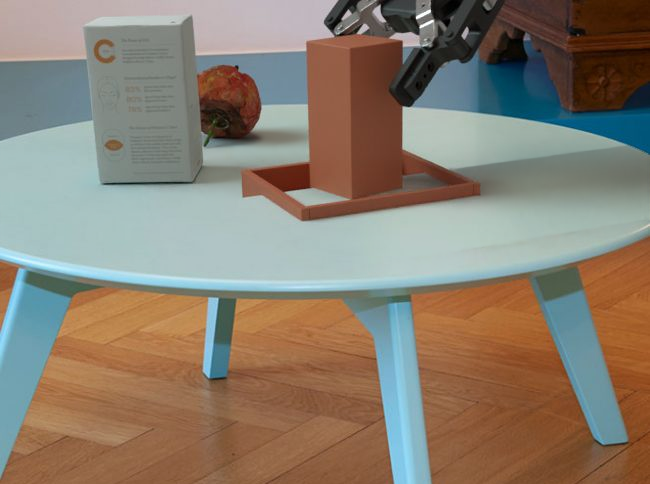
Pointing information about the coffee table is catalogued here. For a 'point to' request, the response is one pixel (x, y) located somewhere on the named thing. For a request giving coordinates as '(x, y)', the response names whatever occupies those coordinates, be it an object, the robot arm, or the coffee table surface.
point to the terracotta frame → (298, 178)
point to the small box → (144, 98)
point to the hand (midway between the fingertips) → (358, 92)
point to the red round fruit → (227, 102)
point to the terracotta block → (354, 115)
